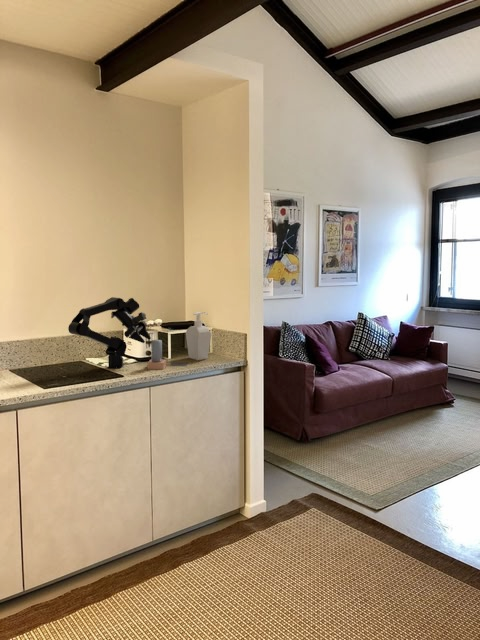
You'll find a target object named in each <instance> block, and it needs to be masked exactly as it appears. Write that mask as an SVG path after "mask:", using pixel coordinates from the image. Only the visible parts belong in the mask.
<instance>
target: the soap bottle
mask: <svg viewBox="0 0 480 640" xmlns="http://www.w3.org/2000/svg"><path fill="white" fill-rule="evenodd" d="M201 314H205V315H208V313H206V312H204V311H196V312H194V313H193V316H196V319H195V320H194V325H193V326H192V325H190V326H189V327H188V328H187V329H186V331H185V337H186V345H187V352H188V358H189V359H191V360H196V361H202V360H208V358H209V351H210V345H211V338H212V333H211V331H210V330H209V327H207V326H205V325H203V320H202V319H201Z"/></svg>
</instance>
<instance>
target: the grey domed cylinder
mask: <svg viewBox="0 0 480 640" xmlns="http://www.w3.org/2000/svg"><path fill="white" fill-rule="evenodd" d="M151 360H152V362H162V360H163V340H162V339H151Z"/></svg>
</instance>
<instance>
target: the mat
mask: <svg viewBox="0 0 480 640" xmlns="http://www.w3.org/2000/svg"><path fill="white" fill-rule="evenodd" d="M188 364H189V362H171V363H170V364H169V365H168V366H169V367H187V366H188Z"/></svg>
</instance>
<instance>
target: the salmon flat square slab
mask: <svg viewBox="0 0 480 640" xmlns="http://www.w3.org/2000/svg"><path fill="white" fill-rule="evenodd" d="M166 367H167V360H166V359H162V362H152V359H149V361H148V362H147V370H164V369H165V368H166Z"/></svg>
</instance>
